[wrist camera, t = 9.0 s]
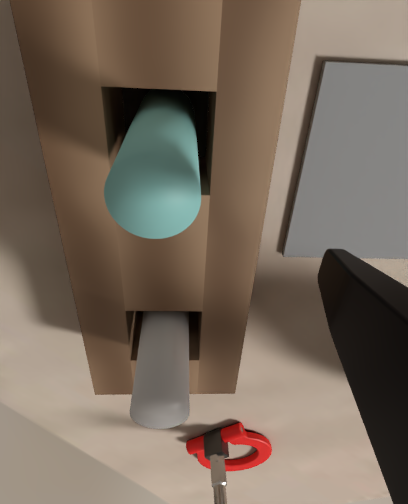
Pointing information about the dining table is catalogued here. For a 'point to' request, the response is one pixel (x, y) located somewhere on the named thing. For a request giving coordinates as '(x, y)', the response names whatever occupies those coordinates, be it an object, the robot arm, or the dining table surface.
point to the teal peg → (157, 168)
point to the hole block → (210, 167)
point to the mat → (354, 165)
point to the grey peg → (162, 371)
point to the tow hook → (227, 454)
